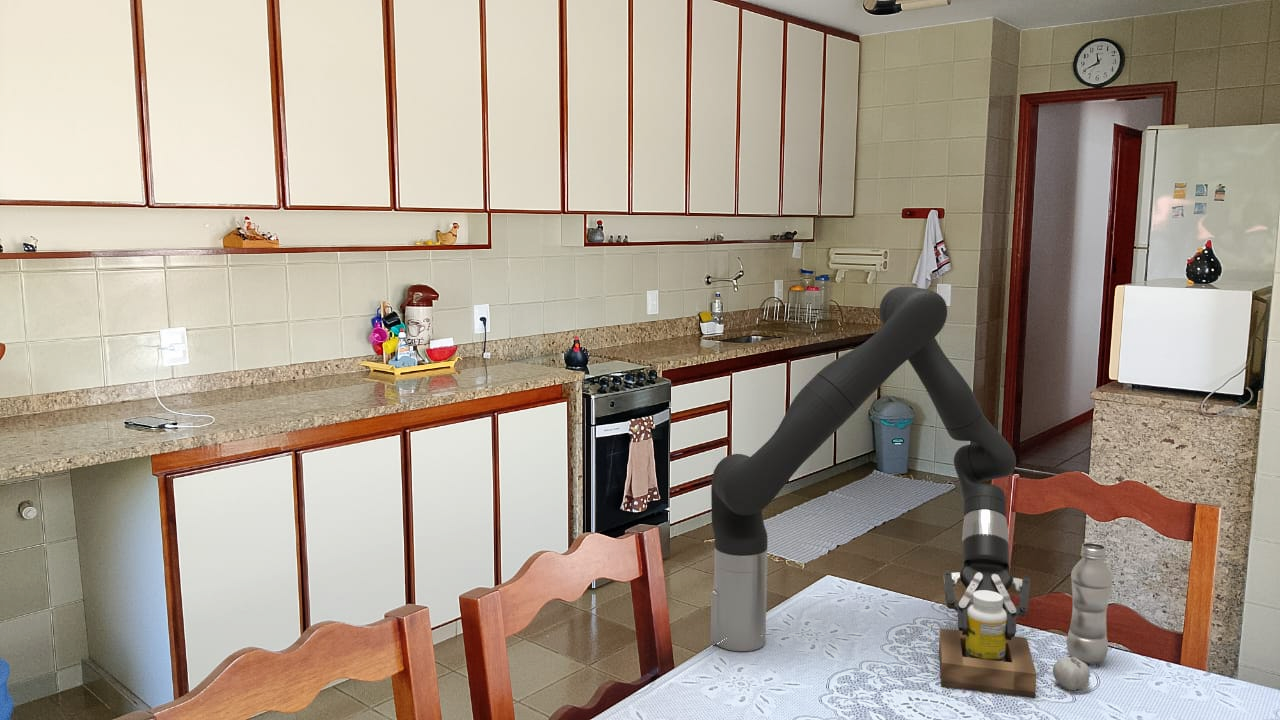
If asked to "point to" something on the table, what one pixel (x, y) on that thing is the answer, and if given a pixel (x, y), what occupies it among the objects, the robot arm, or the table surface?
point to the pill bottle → (986, 627)
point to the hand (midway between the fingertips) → (987, 635)
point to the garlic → (1071, 673)
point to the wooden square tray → (987, 667)
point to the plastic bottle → (1089, 605)
